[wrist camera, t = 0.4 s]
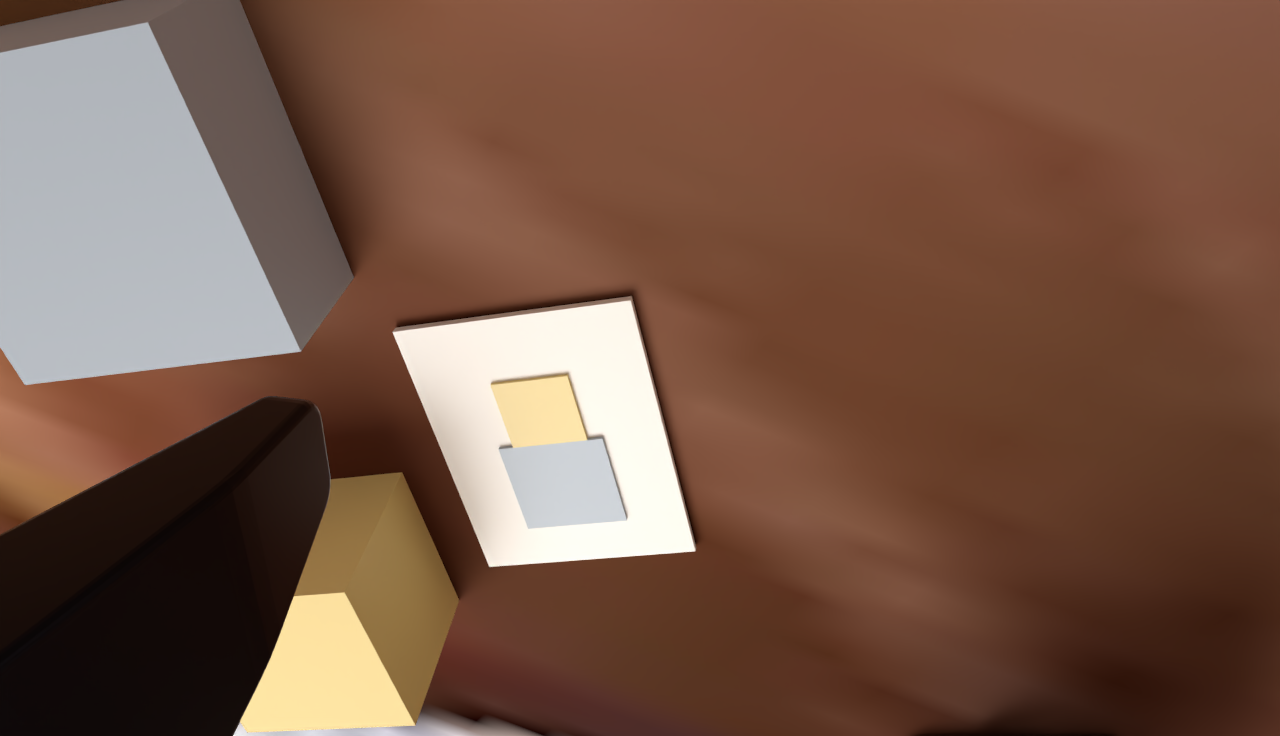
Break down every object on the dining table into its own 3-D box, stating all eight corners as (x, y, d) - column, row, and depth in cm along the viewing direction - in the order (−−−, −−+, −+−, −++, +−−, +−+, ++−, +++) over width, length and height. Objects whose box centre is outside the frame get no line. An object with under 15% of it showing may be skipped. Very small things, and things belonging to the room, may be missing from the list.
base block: (357, 271, 24) (300, 351, 22) (109, 305, 26) (25, 384, 23) (236, -26, 21) (147, 22, 18) (-46, 34, 22) (-170, 87, 19)
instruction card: (695, 546, 28) (695, 553, 27) (491, 561, 29) (488, 569, 29) (631, 296, 23) (629, 302, 23) (395, 327, 25) (391, 334, 25)
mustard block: (460, 597, 30) (415, 725, 27) (310, 607, 31) (247, 732, 28) (403, 470, 28) (344, 592, 24) (241, 486, 29) (161, 605, 25)
